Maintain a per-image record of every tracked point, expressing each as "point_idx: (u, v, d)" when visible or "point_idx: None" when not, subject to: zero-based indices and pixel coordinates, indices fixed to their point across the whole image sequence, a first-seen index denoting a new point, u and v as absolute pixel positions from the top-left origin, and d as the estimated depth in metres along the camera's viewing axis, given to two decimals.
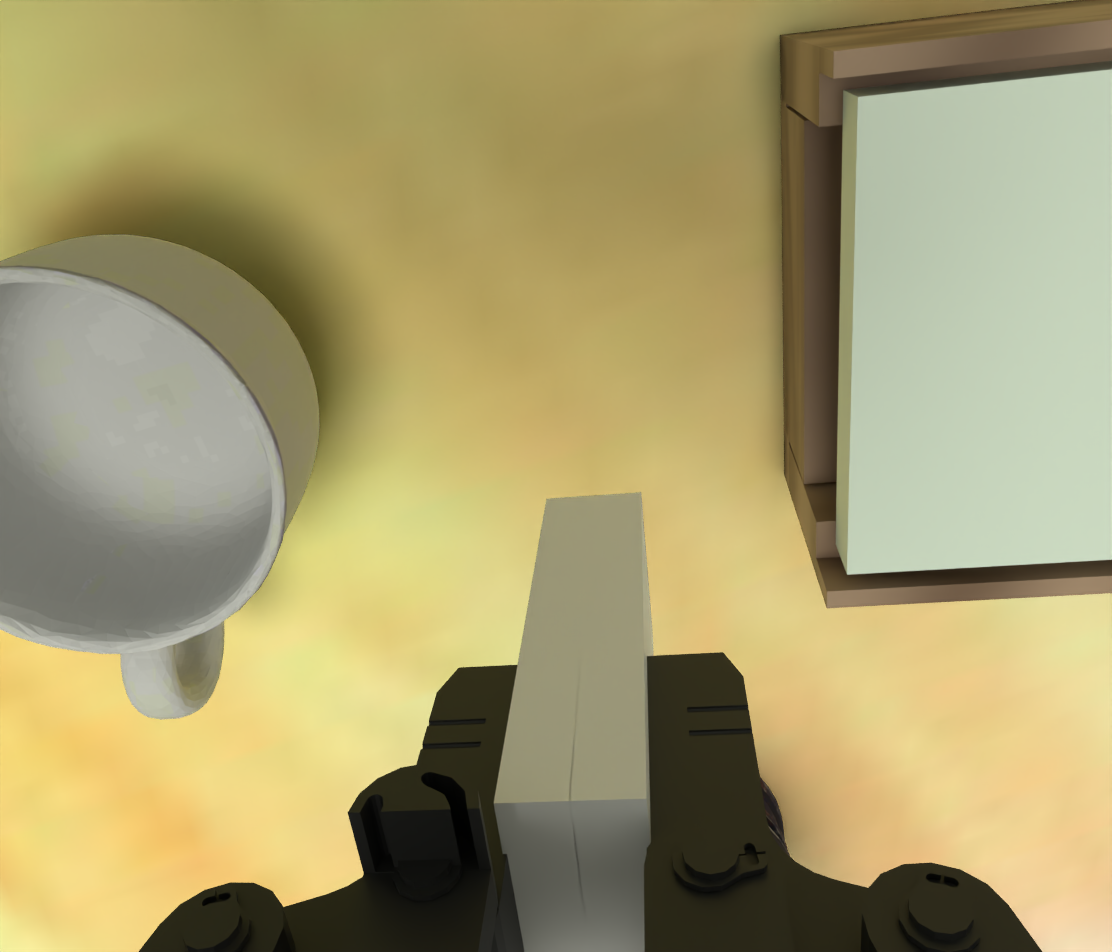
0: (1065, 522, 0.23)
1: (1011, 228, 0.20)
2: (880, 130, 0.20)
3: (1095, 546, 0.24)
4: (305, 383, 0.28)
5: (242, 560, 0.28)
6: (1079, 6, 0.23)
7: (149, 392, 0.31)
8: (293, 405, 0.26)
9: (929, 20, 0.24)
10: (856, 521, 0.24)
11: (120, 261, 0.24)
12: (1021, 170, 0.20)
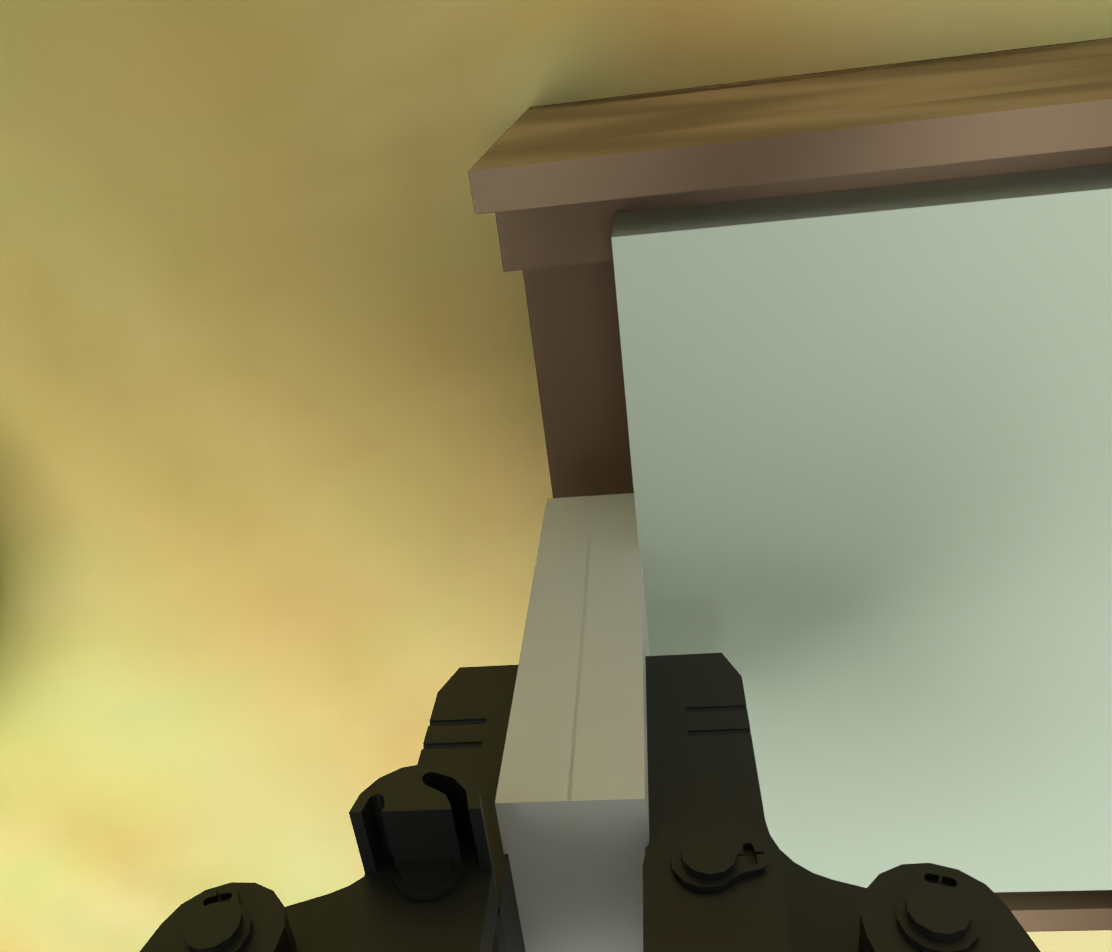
0: (985, 842, 0.15)
1: (876, 438, 0.13)
2: (652, 290, 0.12)
3: (1031, 873, 0.16)
4: None
5: None
6: (928, 74, 0.15)
7: None
8: None
9: (723, 90, 0.17)
10: None
11: None
12: (888, 352, 0.12)
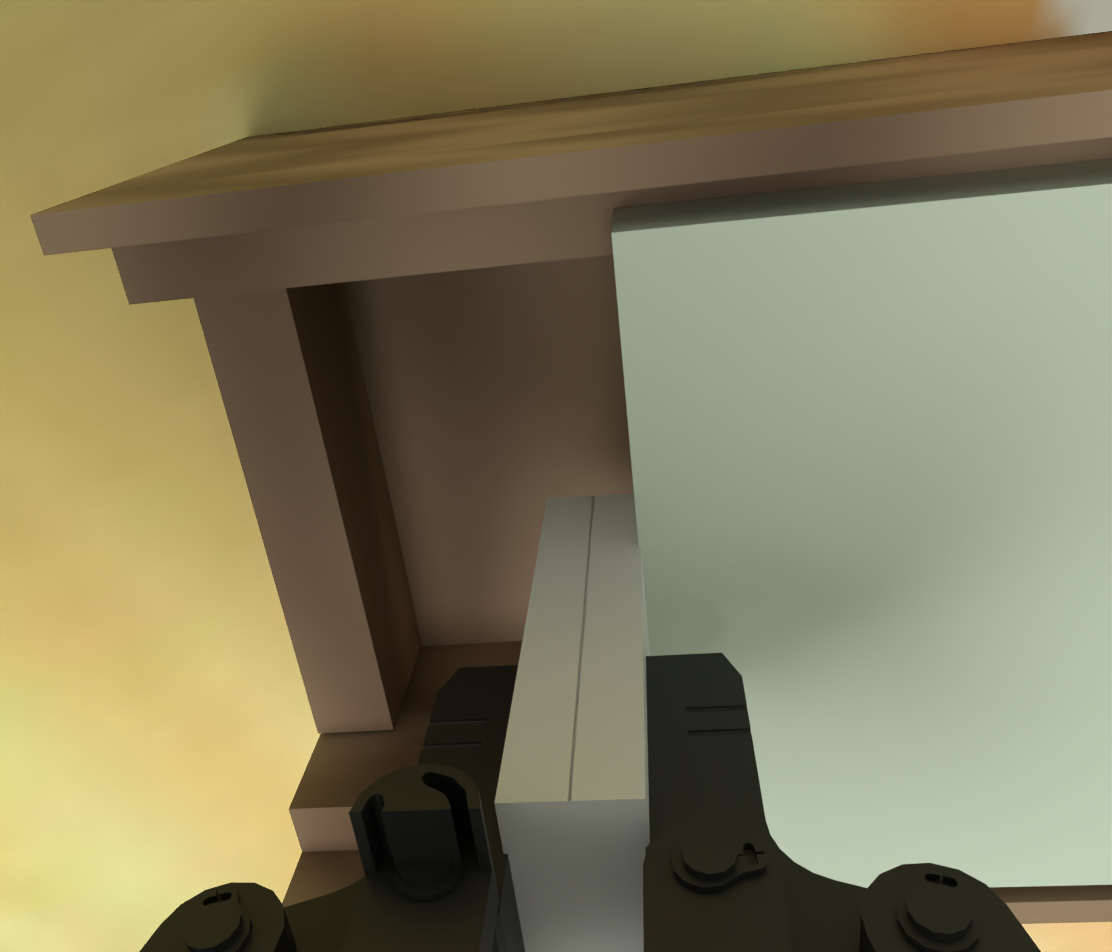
0: (984, 837, 0.16)
1: (875, 434, 0.13)
2: (653, 285, 0.12)
3: (1030, 868, 0.16)
4: None
5: None
6: (574, 110, 0.16)
7: None
8: None
9: (408, 123, 0.17)
10: None
11: None
12: (888, 348, 0.12)
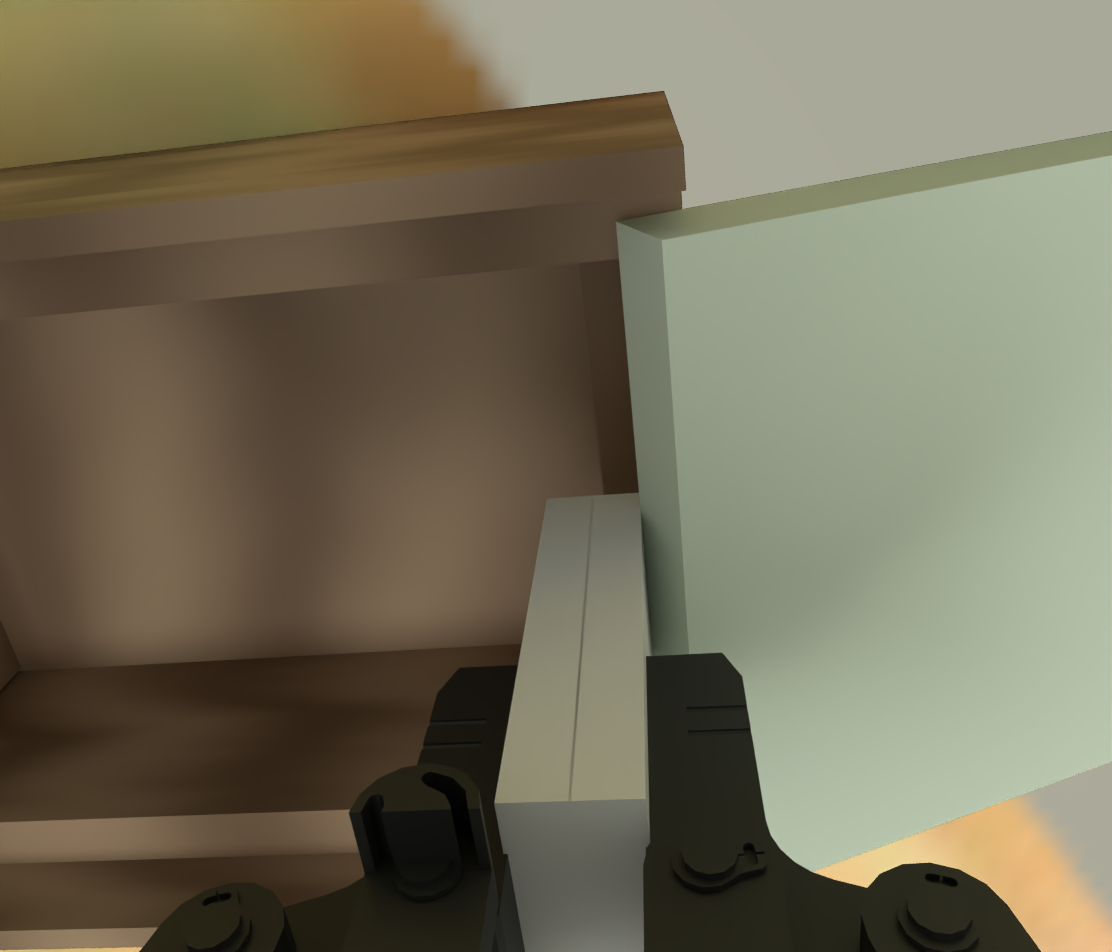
0: (967, 768, 0.17)
1: (887, 410, 0.14)
2: (700, 290, 0.12)
3: (1000, 786, 0.18)
4: None
5: None
6: (7, 180, 0.17)
7: None
8: None
9: None
10: None
11: None
12: (897, 328, 0.13)
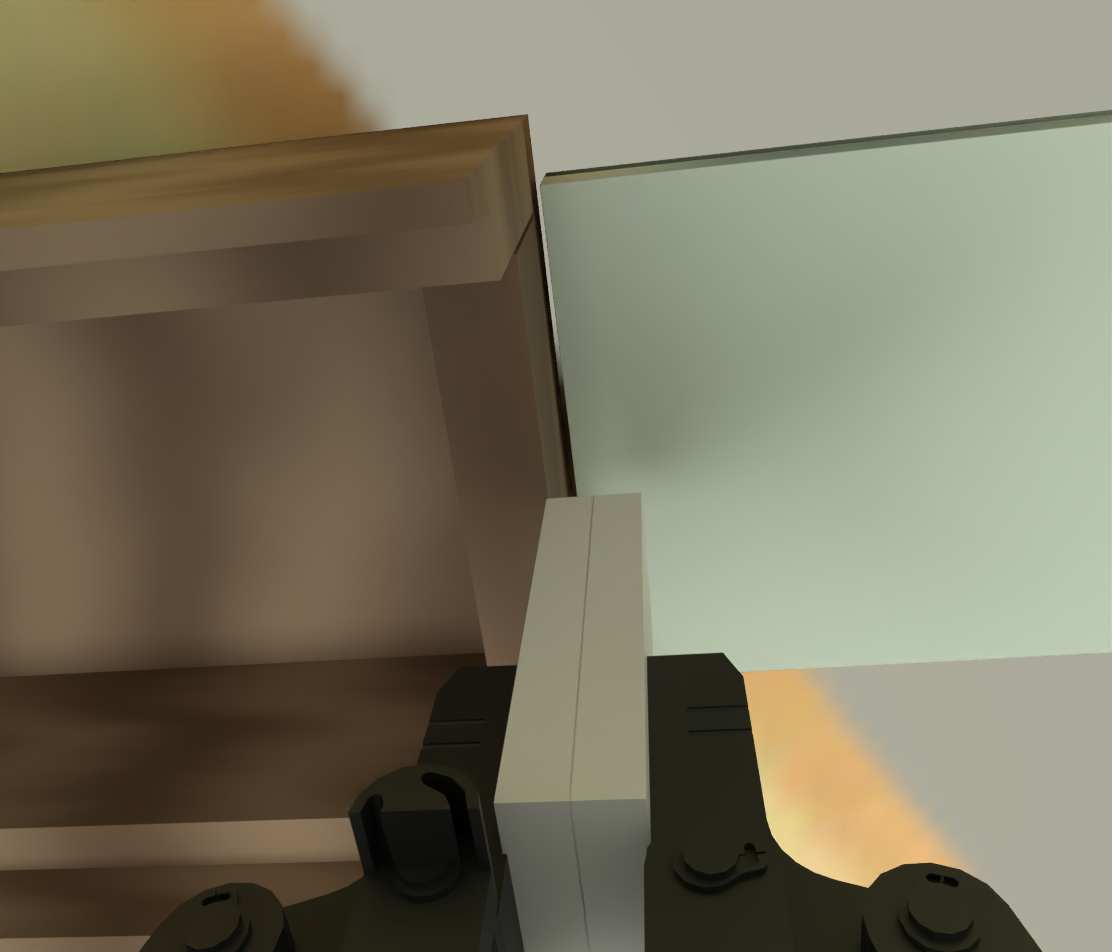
0: (822, 626, 0.22)
1: (722, 322, 0.19)
2: (568, 221, 0.18)
3: (857, 651, 0.22)
4: None
5: None
6: None
7: None
8: None
9: None
10: None
11: None
12: (725, 261, 0.18)
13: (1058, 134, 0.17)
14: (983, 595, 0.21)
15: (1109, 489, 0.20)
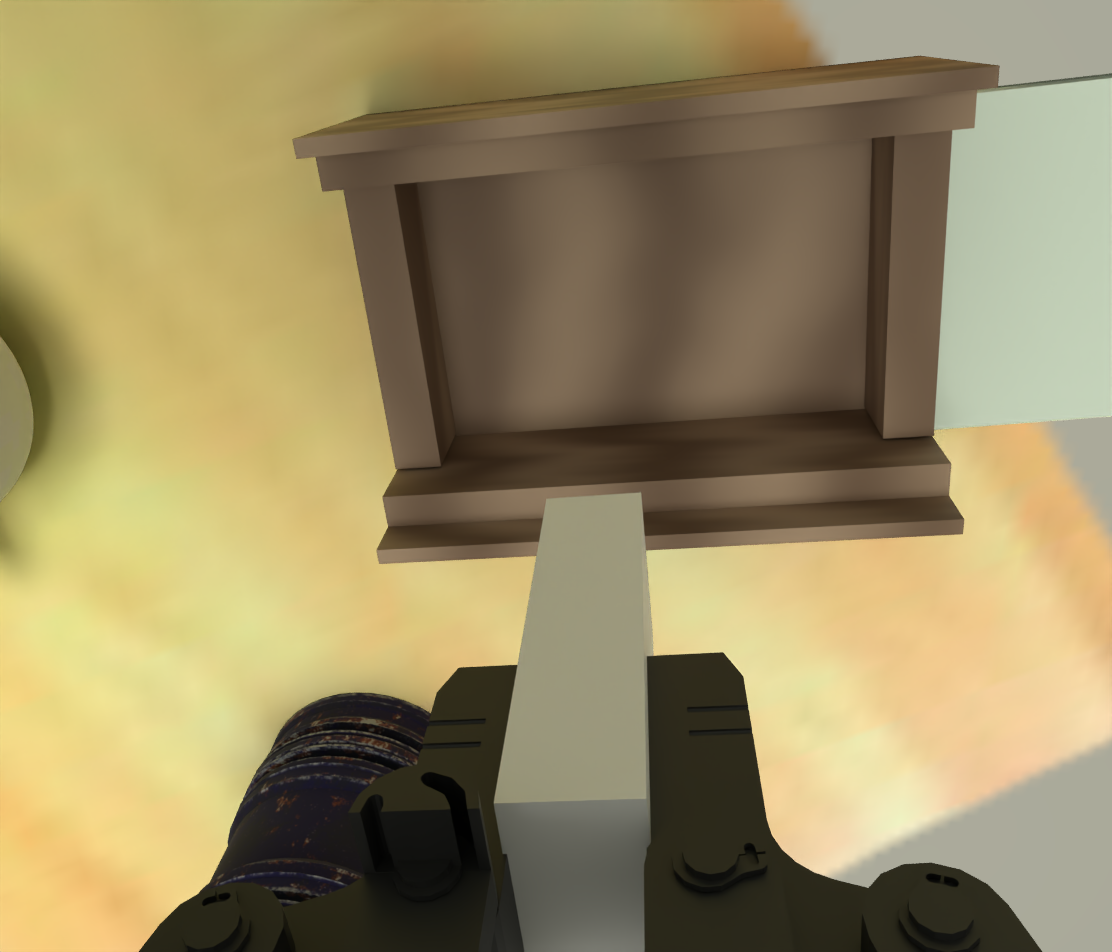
0: (1068, 390, 0.34)
1: (1029, 183, 0.31)
2: None
3: (1089, 407, 0.34)
4: (5, 384, 0.35)
5: None
6: (551, 99, 0.30)
7: None
8: None
9: (461, 106, 0.31)
10: None
11: None
12: (1035, 145, 0.31)
13: None
14: None
15: None
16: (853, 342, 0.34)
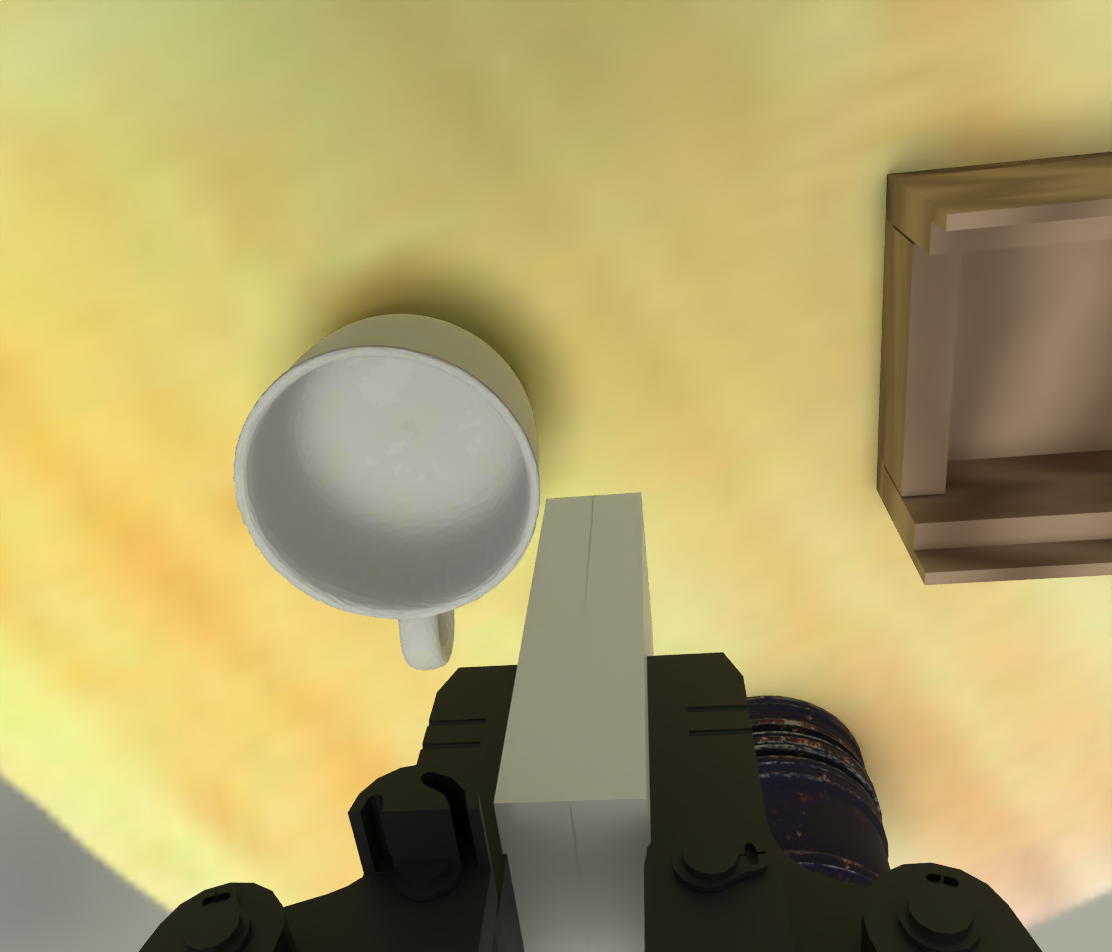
0: None
1: None
2: None
3: None
4: (534, 421, 0.38)
5: (483, 552, 0.38)
6: (1104, 166, 0.33)
7: (400, 426, 0.41)
8: (535, 439, 0.36)
9: (997, 169, 0.34)
10: None
11: (427, 338, 0.34)
12: None
13: None
14: None
15: None
16: None
